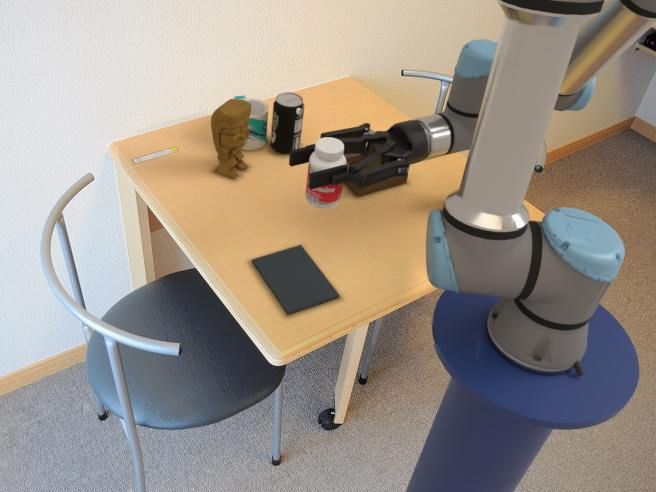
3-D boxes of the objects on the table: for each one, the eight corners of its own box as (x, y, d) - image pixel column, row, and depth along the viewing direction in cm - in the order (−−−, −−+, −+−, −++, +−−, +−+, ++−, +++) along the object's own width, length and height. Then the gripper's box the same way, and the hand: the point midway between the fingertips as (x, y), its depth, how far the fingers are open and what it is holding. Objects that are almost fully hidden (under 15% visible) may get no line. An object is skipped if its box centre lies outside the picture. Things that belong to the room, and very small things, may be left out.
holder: (406, 183, 137) (408, 173, 135) (357, 196, 133) (359, 187, 131) (375, 153, 145) (376, 143, 143) (328, 165, 141) (329, 155, 139)
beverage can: (266, 141, 147) (269, 93, 138) (293, 137, 148) (298, 89, 140) (276, 157, 142) (280, 108, 134) (304, 153, 144) (310, 104, 136)
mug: (235, 152, 143) (236, 118, 137) (222, 123, 151) (222, 90, 146) (271, 147, 145) (273, 113, 139) (256, 119, 153) (257, 86, 148)
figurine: (233, 181, 135) (234, 118, 125) (207, 171, 138) (206, 107, 127) (251, 165, 140) (253, 102, 129) (226, 155, 142) (226, 93, 132)
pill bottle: (299, 203, 113) (305, 149, 105) (312, 184, 117) (318, 130, 109) (333, 214, 111) (341, 159, 103) (345, 194, 115) (354, 140, 107)
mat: (339, 298, 112) (339, 295, 112) (287, 315, 109) (287, 312, 109) (300, 247, 121) (300, 244, 121) (251, 262, 118) (251, 259, 118)
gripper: (445, 188, 111) (326, 222, 103) (383, 131, 123) (272, 158, 116) (456, 151, 106) (332, 183, 98) (390, 95, 118) (275, 120, 111)
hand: (300, 169), depth 107 cm, fingers closed on pill bottle, 6 cm apart
